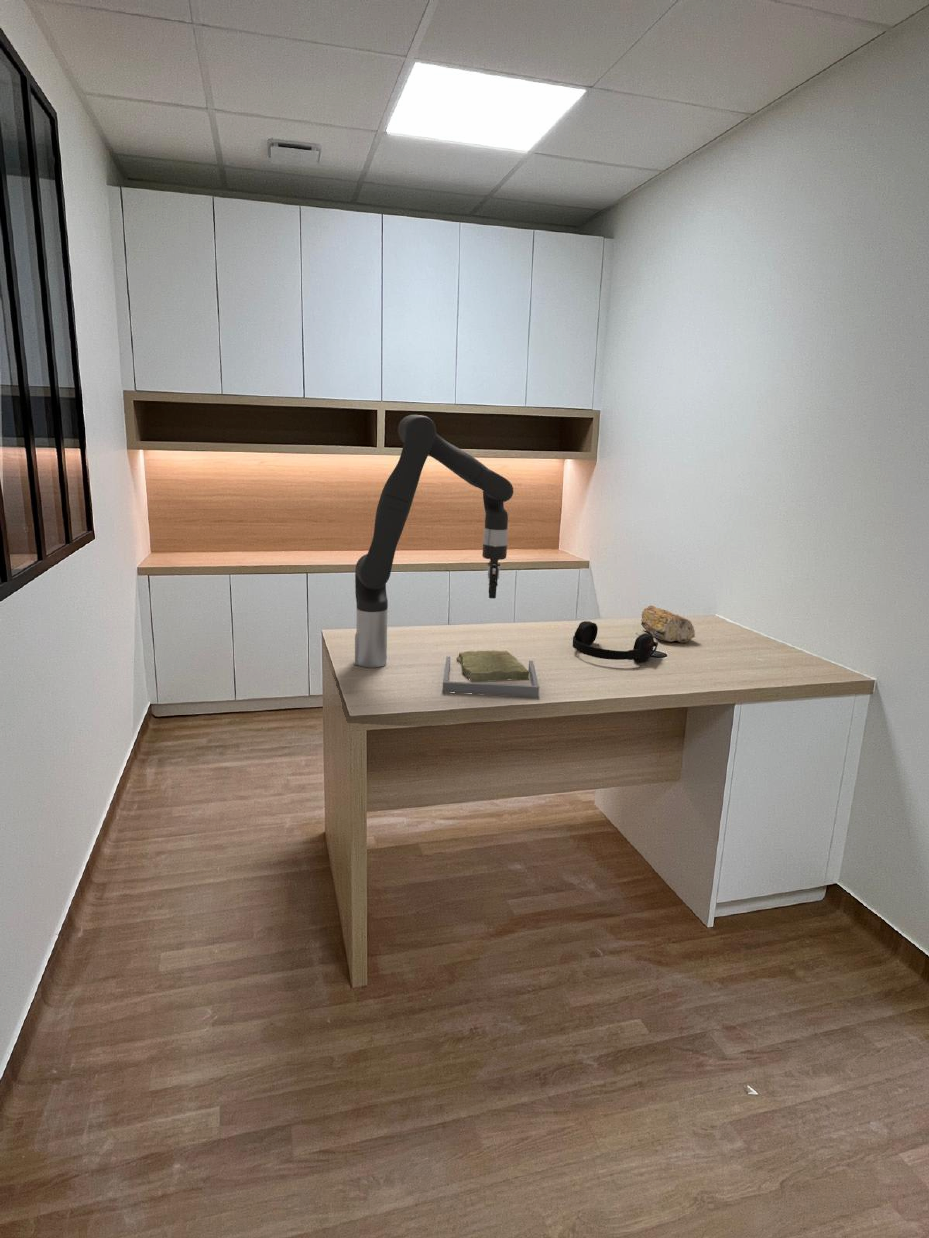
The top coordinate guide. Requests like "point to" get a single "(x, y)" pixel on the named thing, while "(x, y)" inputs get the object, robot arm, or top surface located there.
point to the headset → (640, 652)
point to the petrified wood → (667, 625)
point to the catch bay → (492, 685)
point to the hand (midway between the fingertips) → (492, 595)
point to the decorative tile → (491, 666)
